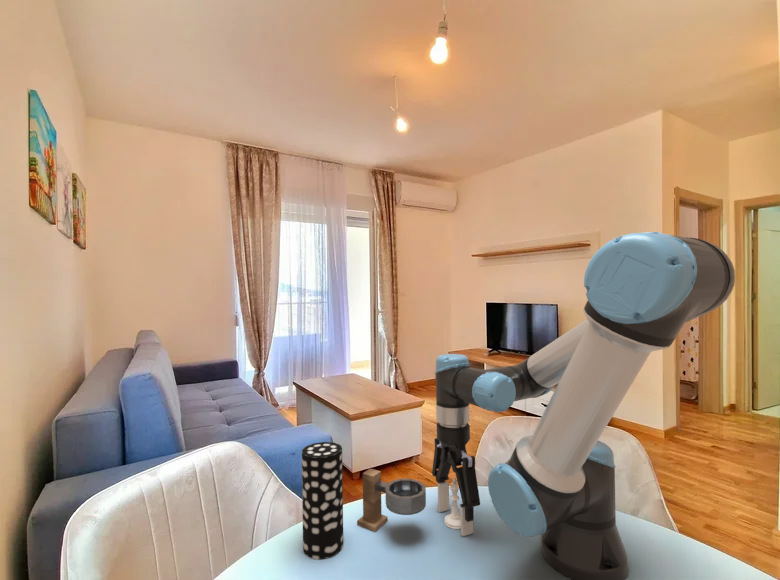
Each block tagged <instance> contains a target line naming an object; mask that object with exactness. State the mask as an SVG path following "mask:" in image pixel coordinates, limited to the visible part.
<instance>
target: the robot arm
mask: <svg viewBox="0 0 780 580" xmlns="http://www.w3.org/2000/svg"><path fill="white" fill-rule="evenodd" d="M735 273H736V272H735V267H734V264H733V262H732V261H731V259H730V258H729V256H728V254H726V253H725V251H724V250H723V249H722V248H720V247H719V246H717V245H715V244H714V243H712V242H710V241H707V240H704V239H700V238H695V237H685V236H679V235H673V234H667V233H662V232H659V231H646V232H643V231H642V232H633V233H628V234H623V235H620V236H618V237H615V238H613V239H610V241H608V242H606V243H605V244H604V245H602V246H601V247H600V248H599V249H598V250H597V251H596V252H595V253H594V255H592V257H591V259H590V260H589V262H588V264H587V267H586V270H585V272H584V278H583V286H584V288H585V289H586V292H585V296H586V299H587V300H586V303H585V305H584V307H583V314H584V315H585V318H586V319H584V320H583V321H582V322H580V323H578V324H577V325H576V326H574V327H572V328H571V329H570V330H568V331H567V332H565V333H563V334H562V335H560V336H559V337H557V338H556V339H554V340H553V341H552V342H550V343H548V344H547V345H545V346H544V347H542V348H541V349H539V350H538V351H536V352H535V353H533V354H532V355H530V356H529V357H527V358H526V359H523V361H522V362H519V363H518V364H515V365H508V366H503V367H495V368H488V369H481V368H474V367H471V366H470V361H469V357H468V356H467V355H465V354H460V353H459V354H458V353H447V354H446V353H445V354H440V355H439V356H437V357H436V360H435V372H434V375H435V399H436V400H435V402H436V404H435V408H436V409H435V414H436V438H434V452H433V462H432V472H431V474H432V476H433V477H435V481H436V482H437V511H438V512H439V513H442V512H446V511H449V510H450V482H449V480H450V478H449V474H450V470H451V469H452V472H453V473H455V477H456V480H457V486H458V487H459V490H458V491H459V493H460V497H461V503H460V504H459V505H460V507H459V510H460V513H459V514H460V515H461V528H460V535H461V536H462V537H466V536H469V535H473V534H474V518H475V515H474V511H475V509H474V508H475V507H479V506H480V505H481V500H480V498H481V497H480V493H479V486H478V480H477V471H476V457H475V455H472V456H470V455H469V454H468V453H467V448H466V445H467V444H468V443H469V442H470V440H471V426H470V424H469V422H470V404H471V405H473V406H476V407H478V408H481V409H483V410H486V411H490V412H495V413H503V412H506V411H508V410H509V408H510V407H512V406H513V405H514V402H517V401H523V400H527V399H533V398H534V399H536V398H540V397H542V396H544V395H546V394H548V393H550V392H551V391H552V389H553V387H554V386H556V388H555V389H554V392H553V394H552V396H551V397H550V399H549V401H548V404H547V406H546V407H545V409H544V412H543V413H542V415H541V417H540V418H539V421H538V423H537V425H536V428H535V429H534V431H533V433H532V435H525V436H523V437H521V439H519V441H517V443H516V445H515V448H514V450H513V452H512V453H511V456H510V458H509V459H508V460H507V461H506V462H499V463H498V464H497V465H495V466H494V467H493V468H492V469H490V472H489V474H488V477H487V478H488V481H487V487H488V493H489V497H490V499H491V503H492V505H493V508H494V510H495V511H496V513H497V515H498V516H499V518H500V520H501V521H502V522H503V523H504V524H505V525H506V527H507V528H509V530H510V531H512V532H513V533H515V534H516V535H519V536H522V537H524V538H533V537H535V536H538V535H541V536H540V539H541V540H540V545H541V546H540V547H541V548H540V549H541V553H542V556H543V558H544V559H545V561H546V562H547V563H548V564H549V565H550V566H551V567H552V568H553V569H555V570H556V571H557V572H559V573H560V574H561V575H564V576H566V577H568V578H570V579H573V580H624V579H626V577H627V576H628V572H629V569H628V567H629V565H628V564H629V562H628V560H629V559H628V554H627V552H626V549H625V546H624V544H623V541H622V538H621V536H620V535H621V534H620V532H619V529H618V527H617V522H616V517H617V515H616V477H615V476H616V474H615V473H616V472H615V471H616V465H615V458H614V452H613V450H612V447H610V446H609V445H608V444H606V443H605V442H603V441H600V438H601V436H602V435H603V433H604V431H605V429H607V426H608V424H609V423H610V422H611V419H612V418H613V417H614V415H615V413H616V411H617V409H618V408H619V407H620V404H621V403H622V401H623V400H624V398H625V396H626V395H627V393H628V392H629V389H630V387H631V386H632V385H633V383H634V381H635V379H636V378H637V377H638V374H639V372H640V371H641V370H642V368H643V366H644V365H645V362H646V361H647V360H648V359H649V356H650V354H651V353H652V352H655V351H661V350H666V349H669V348H671V345H672V344H673V343H674V341H675V340H676V338H677V336H678V335H679V333H680V331H681V330H682V328H683V326H684V325H685V324H686V323H688V322H689V321H692V320H695V319H697V318H700V317H702V316H703V315H707V314H708V313H711V312H712V311H715V310H716V309H718V308H720V306H722V305H723V304H724V302H726V301H727V300H728V298H729V297H730V296H731V294H732V292H733V289H734V288H735V287H734V286H735V284H736V274H735Z"/></svg>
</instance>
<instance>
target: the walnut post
mask: <svg viewBox="0 0 780 580" xmlns="http://www.w3.org/2000/svg"><path fill="white" fill-rule="evenodd" d="M378 481H382V472H381V471H380V470H377V469H374V468H369V469H367V470H365V471H364V472H362V516H361V517H359V519H357V520H356V526H357V527H361V528H363V529H366V530H369V531H371V532H374V533H376V532H377V531H378V530H379V529H380V528H382V527H383V526H384V525H385V524H386V523H387V522H388V516H387V515H385V514H382V492H381V491H378V490H375V484H376V483H377V482H378Z"/></svg>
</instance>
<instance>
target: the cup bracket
mask: <svg viewBox="0 0 780 580" xmlns="http://www.w3.org/2000/svg"><path fill="white" fill-rule="evenodd" d="M426 489H427V488H426V484H424V483H423V482H421V480H416V479H413V478H399V479H394V480H391V481H390V482H385V481H382V480H381V481H378V482H377V483H376V484H375V490H378V491H381V493H385V506H386V508H387V510H388V511H390V512H391V513H393V514H397V515H401V516H411V515H412V516H413V515H417V514H419V513H421V512H423V511H424V510H425V508H426V505H427V494H426V492H427V491H426Z"/></svg>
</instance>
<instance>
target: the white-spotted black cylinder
mask: <svg viewBox="0 0 780 580" xmlns="http://www.w3.org/2000/svg"><path fill="white" fill-rule="evenodd" d="M301 481H302V482H301V483H302V484H301V485H302V486H301V491H302V492H301V493H302V494H301V495H302V496H301V498H302V500H301V501H302V505H301V506H302V551H303V553H304V554H305V556H306V557H307V558H310V559H313V560H325V559H329V558H332V557H335V556H336V555H338V554H339V553H340V552H341V551H342V549H344V506H343V505H344V491H343V490H344V489H343V485H344V484H343V447H342V445H341V444H339V443H337V442H330V441H323V442H322V441H319V442H315V443H311V444H308V445H306V446H305V447H303V448H302V450H301Z"/></svg>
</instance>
